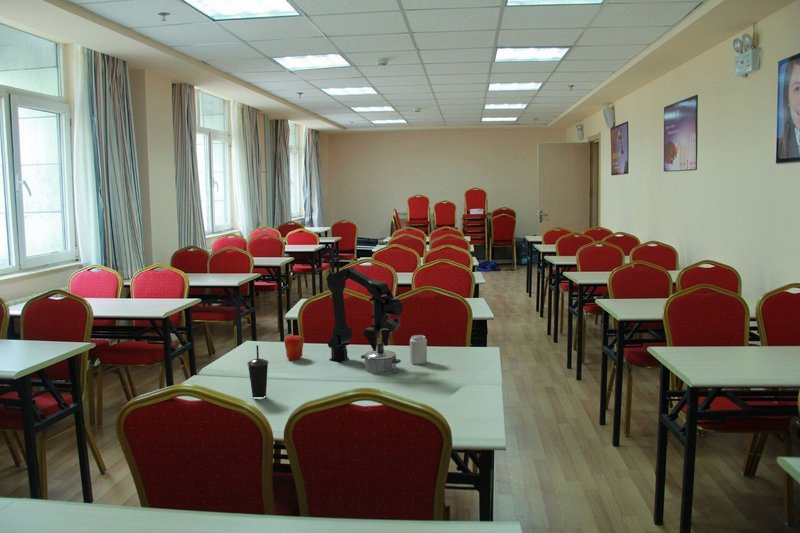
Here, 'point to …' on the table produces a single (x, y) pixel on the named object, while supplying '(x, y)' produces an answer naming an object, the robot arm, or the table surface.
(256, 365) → the drinking cup
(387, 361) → the pot
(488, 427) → the table surface
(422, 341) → the can
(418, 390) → the table surface
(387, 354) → the lid
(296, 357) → the red bell pepper
